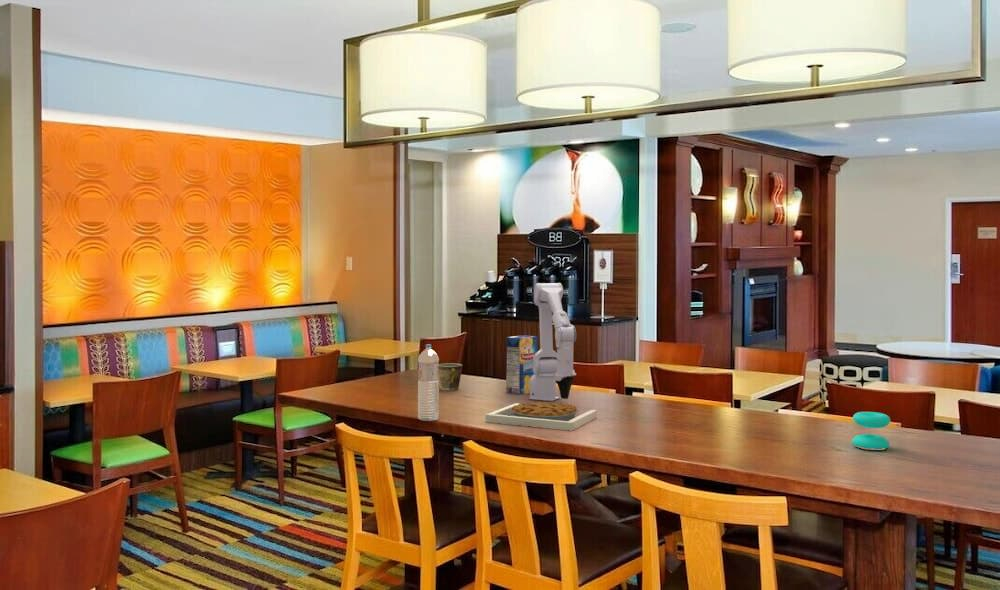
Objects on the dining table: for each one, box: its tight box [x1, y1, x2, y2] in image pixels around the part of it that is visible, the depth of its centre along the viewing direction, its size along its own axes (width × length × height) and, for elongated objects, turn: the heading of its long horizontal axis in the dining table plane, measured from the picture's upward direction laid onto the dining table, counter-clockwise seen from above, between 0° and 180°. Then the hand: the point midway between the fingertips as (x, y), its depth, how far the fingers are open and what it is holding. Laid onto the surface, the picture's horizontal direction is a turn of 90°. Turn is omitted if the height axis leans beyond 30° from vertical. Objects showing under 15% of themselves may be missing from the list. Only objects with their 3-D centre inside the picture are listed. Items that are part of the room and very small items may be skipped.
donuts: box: [851, 411, 891, 449], centre depth 260 cm, size 10×10×10 cm
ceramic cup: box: [438, 362, 463, 392], centre depth 358 cm, size 13×10×10 cm
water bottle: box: [417, 343, 440, 422], centre depth 297 cm, size 7×7×25 cm
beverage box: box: [505, 334, 538, 395], centre depth 355 cm, size 7×11×22 cm, turn 139°
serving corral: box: [485, 402, 598, 432], centre depth 299 cm, size 30×24×2 cm
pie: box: [511, 401, 578, 421], centre depth 300 cm, size 22×22×5 cm
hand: (564, 398), depth 318 cm, fingers closed
